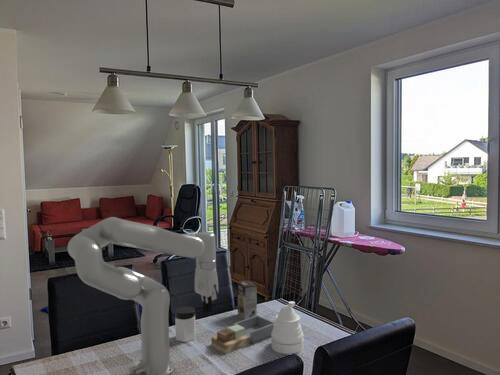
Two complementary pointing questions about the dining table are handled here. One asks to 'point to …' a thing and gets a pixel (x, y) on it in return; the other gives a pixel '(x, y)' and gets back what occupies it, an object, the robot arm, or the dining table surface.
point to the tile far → (237, 330)
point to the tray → (257, 328)
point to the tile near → (225, 335)
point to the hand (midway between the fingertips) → (207, 311)
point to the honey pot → (287, 331)
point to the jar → (185, 324)
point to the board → (231, 343)
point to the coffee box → (247, 299)
